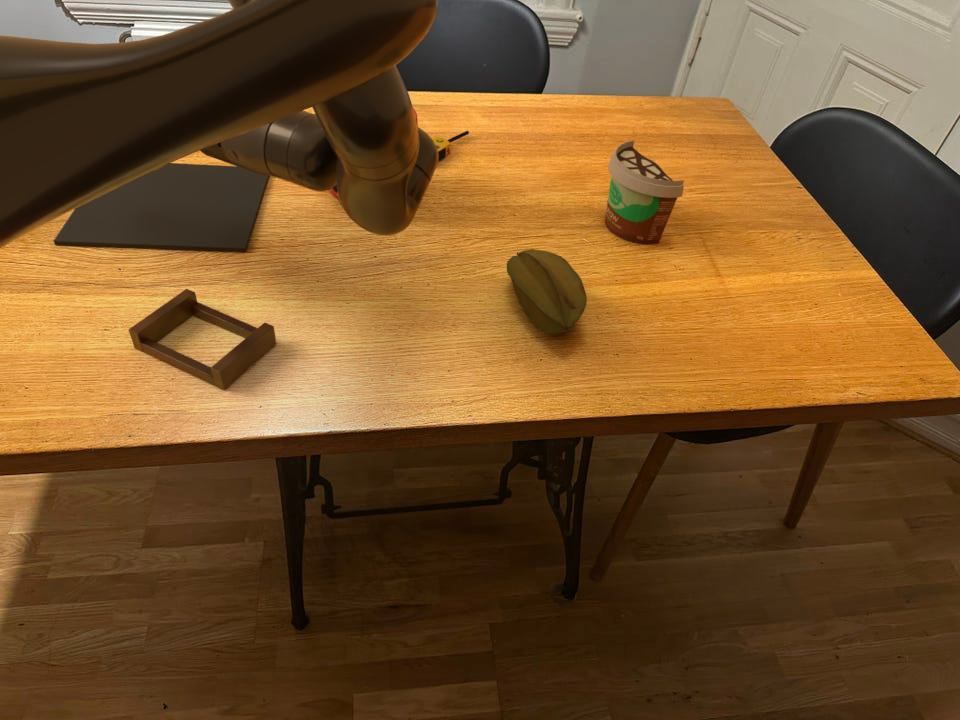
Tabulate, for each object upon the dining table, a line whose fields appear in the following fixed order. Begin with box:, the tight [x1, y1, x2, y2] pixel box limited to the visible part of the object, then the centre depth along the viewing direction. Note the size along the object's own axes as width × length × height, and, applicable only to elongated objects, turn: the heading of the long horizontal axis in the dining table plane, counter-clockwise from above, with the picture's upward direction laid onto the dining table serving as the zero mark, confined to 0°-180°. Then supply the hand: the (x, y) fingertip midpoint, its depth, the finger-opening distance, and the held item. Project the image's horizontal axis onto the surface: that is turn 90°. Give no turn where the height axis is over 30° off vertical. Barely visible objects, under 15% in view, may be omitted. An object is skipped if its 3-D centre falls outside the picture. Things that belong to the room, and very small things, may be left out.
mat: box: [53, 162, 271, 253], centre depth 91 cm, size 22×20×1 cm
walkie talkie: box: [431, 130, 470, 163], centre depth 108 cm, size 5×2×15 cm
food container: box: [604, 139, 685, 245], centre depth 93 cm, size 12×6×10 cm, turn 25°
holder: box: [128, 288, 277, 391], centre depth 71 cm, size 8×12×2 cm
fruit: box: [506, 248, 588, 335], centre depth 79 cm, size 11×12×7 cm
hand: (124, 88), depth 75 cm, fingers closed on tape roll, 4 cm apart
